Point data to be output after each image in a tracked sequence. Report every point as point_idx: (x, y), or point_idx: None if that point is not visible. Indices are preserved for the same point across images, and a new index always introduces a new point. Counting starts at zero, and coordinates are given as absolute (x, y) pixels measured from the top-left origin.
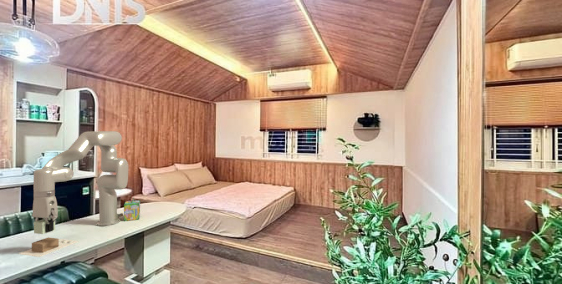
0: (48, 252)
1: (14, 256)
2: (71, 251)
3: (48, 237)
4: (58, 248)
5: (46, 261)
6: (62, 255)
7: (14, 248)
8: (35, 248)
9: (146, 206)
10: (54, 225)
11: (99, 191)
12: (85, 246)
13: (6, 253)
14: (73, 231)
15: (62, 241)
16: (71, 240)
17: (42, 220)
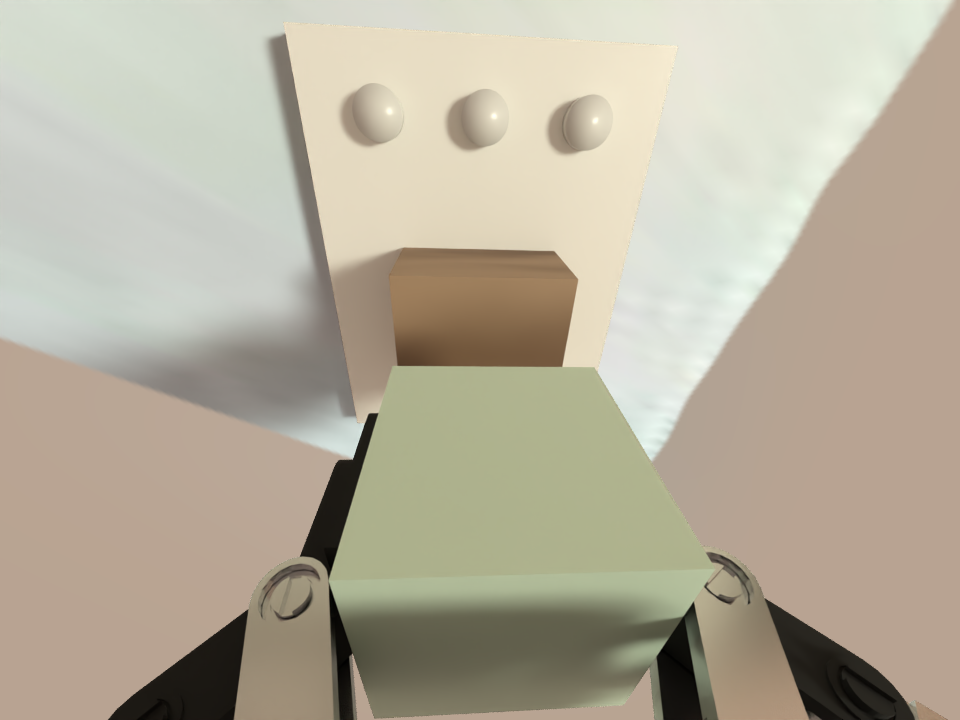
0: (580, 362)
1: (353, 421)
2: (727, 269)
3: (400, 277)
4: (595, 287)
5: (657, 420)
6: (701, 340)
7: (130, 333)
8: None
9: None
10: (624, 435)
11: None
12: (806, 133)
13: (222, 405)
14: None
15: (489, 145)
16: (544, 47)
17: (452, 666)
